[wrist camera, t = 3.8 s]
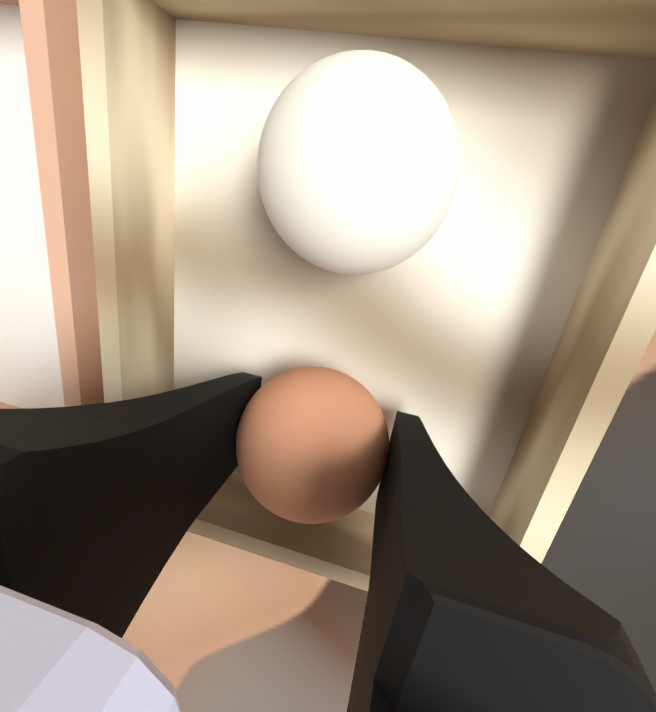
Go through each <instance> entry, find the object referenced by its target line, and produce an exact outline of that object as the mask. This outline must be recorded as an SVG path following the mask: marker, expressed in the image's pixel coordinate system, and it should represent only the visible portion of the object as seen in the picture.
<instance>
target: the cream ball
mask: <svg viewBox="0 0 656 712" xmlns="http://www.w3.org/2000/svg"><path fill="white" fill-rule="evenodd" d="M257 173H258V184H259V189H260V194H261V198H262V201H263V204H264V207H265V210H266V212H267V215H268V217H269V219H270V221H271V223H272V224H273V226H274V228H275V229H276V231H277V233H278V234H279V235H280V237H281V238H282V239H283V240H284V242H285V243H286V244H287V245H288V246H289V247H290V248H291V249H292V250H293V251H294V252H295V253H296V254H298V255H299V256H300V257H302V258H303V259H304V260H306V261H308V262H310V263H311V264H313V265H315V266H318V267H320V268H322V269H325V270H327V271H331V272H335V273H339V274H347V275H365V274H371V273H376V272H380V271H383V270H387V269H389V268H391V267H394V266H396V265H398V264H400V263H402V262H404V261H405V260H407V259H409V258H410V257H412V256H413V255H414V254H415V253H417V252H418V251H419V250H421V249H422V248H423V247H424V246H425V245H426V244H427V243H428V242H429V241H430V240H431V238H432V237H433V236H434V234H435V233H436V232H437V231H438V229H439V228H440V226H441V224H442V223H443V221H444V220H445V218H446V216H447V214H448V212H449V209H450V207H451V205H452V202H453V199H454V196H455V193H456V190H457V185H458V179H459V173H460V142H459V137H458V132H457V127H456V124H455V121H454V118H453V115H452V112H451V110H450V108H449V106H448V104H447V102H446V100H445V98H444V97H443V95H442V94H441V92H440V91H439V90H438V88H437V87H436V86H435V85H434V83H433V82H432V81H431V80H430V79H429V78H428V77H427V76H426V75H425V74H424V73H423V72H422V71H420V70H419V69H418V68H416V67H415V66H414V65H413V64H411V63H409V62H407V61H405V60H404V59H402V58H400V57H397V56H394V55H392V54H389V53H386V52H380V51H374V50H351V51H344V52H339V53H336V54H333V55H330V56H327V57H325V58H323V59H321V60H319V61H316V62H314V63H313V64H311V65H310V66H308V67H307V68H305V69H304V70H303V71H301V72H300V73H299V74H298V75H297V76H296V77H295V78H294V79H292V80H291V82H290V83H289V84H288V85H287V86H286V87H285V88H284V90H283V91H282V92H281V94H280V95H279V97H278V98H277V100H276V101H275V103H274V104H273V106H272V108H271V110H270V112H269V114H268V116H267V119H266V122H265V125H264V127H263V130H262V134H261V138H260V142H259V149H258V158H257Z"/></svg>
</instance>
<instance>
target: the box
mask: <svg viewBox="0 0 656 712" xmlns="http://www.w3.org/2000/svg"><path fill="white" fill-rule="evenodd" d="M76 4H77V18H78V32H79V47H80V61H81V75H82V90H83V104H84V118H85V133H86V147H87V161H88V176H89V190H90V204H91V219H92V233H93V248H94V262H95V276H96V291H97V305H98V319H99V334H100V348H101V362H102V377H103V391H104V403H109V402H116V401H122V400H128V399H135V398H140V397H145V396H150V395H155V394H159V393H163V392H167V391H171V390H175V389H179V388H183V387H187V386H191V385H194V384H198V383H201V382H205V381H208V380H212V379H215V378H219V377H223V376H226V375H230V374H235V373H241V372H245V373H249V374H253V375H257V376H261V377H262V382H261V387H262V386H263V385H264V384H266V383H267V382H268V381H270V380H271V379H272V378H274V377H276V376H278V375H280V374H282V373H284V372H287V371H289V370H292V369H296V368H301V367H325V368H330V369H334V370H337V371H340V372H342V373H344V374H347V375H349V376H350V377H352V378H354V379H355V380H357V381H358V382H359V383H361V384H362V385H363V386H364V387H365V388H366V389H367V390H368V391H369V392H370V393H371V394H372V396H373V397H374V398H375V400H376V402H377V403H378V405H379V407H380V408H381V410H382V413H383V415H384V417H385V421H386V424H387V428H388V435H389V441H390V437H391V433H392V429H393V425H394V421H395V417H396V413H397V411H400V412H404V413H408V414H412V415H416V416H419V417H420V419H421V421H422V422H423V424H424V427H425V429H426V431H427V433H428V434H429V436H430V438H431V440H432V442H433V444H434V446H435V447H436V449H437V451H438V452H439V454H440V456H441V457H442V459H443V461H444V462H445V464H446V465H447V467H448V468H449V470H450V471H451V472H452V474H453V475H454V477H455V478H456V479H457V481H458V482H459V483H460V485H461V486H462V487H463V488H464V490H465V491H466V492H467V493H468V494H469V495H470V497H471V498H472V499H473V500H474V501H475V502H476V503H477V505H478V506H479V507H480V508H481V509H482V510H483V511H484V512H485V513H486V514H487V515H488V516H489V517H490V519H491V520H492V521H493V522H495V523H496V524H497V525H498V526H499V527H500V528H501V529H502V530H503V531H504V532H505V533H506V534H507V535H508V536H509V537H510V538H511V539H512V540H513V541H515V542H516V543H517V544H518V545H519V546H520V547H521V548H523V549H524V550H525V551H526V552H527V553H528V554H529V555H531V556H532V557H533V558H534V559H536V560H537V561H538V562H539V563H542V561H543V559H544V557H545V554H546V552H547V551H548V548H549V546H550V544H551V542H552V540H553V538H554V536H555V534H556V532H557V530H558V528H559V526H560V524H561V522H562V520H563V518H564V516H565V514H566V512H567V510H568V507H569V505H570V503H571V501H572V499H573V497H574V495H575V493H576V491H577V489H578V487H579V485H580V483H581V481H582V479H583V477H584V475H585V473H586V471H587V469H588V467H589V465H590V462H591V461H592V459H593V456H594V454H595V452H596V450H597V448H598V446H599V444H600V442H601V440H602V438H603V436H604V434H605V432H606V430H607V428H608V426H609V424H610V422H611V420H612V418H613V416H614V413H615V411H616V409H617V407H618V405H619V403H620V401H621V399H622V397H623V395H624V393H625V391H626V389H627V387H628V385H629V383H630V381H631V379H632V377H633V375H634V373H635V371H636V369H637V367H638V364H639V362H640V360H641V358H642V356H643V354H644V352H645V350H646V348H647V346H648V344H649V342H650V340H651V338H652V336H653V334H654V332H655V330H656V0H76ZM351 50H374V51H380V52H386V53H389V54H392V55H394V56H397V57H400V58H402V59H404V60H405V61H407V62H409V63H411V64H413V65H414V66H415V67H416V68H418V69H419V70H420V71H422V72H423V73H424V74H425V75H426V76H427V77H428V78H429V79H430V80H431V81H432V82H433V83H434V85H435V86H436V87H437V88H438V90H439V91H440V92H441V94H442V95H443V97H444V98H445V100H446V102H447V104H448V106H449V108H450V110H451V112H452V115H453V118H454V121H455V124H456V127H457V132H458V137H459V142H460V173H459V179H458V185H457V190H456V193H455V196H454V199H453V202H452V205H451V207H450V209H449V212H448V214H447V216H446V218H445V220H444V221H443V223H442V224H441V226H440V228H439V229H438V231H437V232H436V233H435V234H434V236H433V237H432V238H431V240H430V241H429V242H428V243H427V244H426V245H425V246H424V247H423V248H422V249H421V250H419V251H418V252H417V253H415V254H414V255H413V256H412V257H410V258H409V259H407V260H405V261H404V262H402V263H400V264H398V265H396V266H394V267H391V268H389V269H387V270H383V271H380V272H376V273H371V274H365V275H347V274H339V273H335V272H331V271H327V270H325V269H322V268H320V267H318V266H315V265H313V264H311V263H310V262H308V261H306V260H304V259H303V258H302V257H300V256H299V255H298V254H296V253H295V252H294V251H293V250H292V249H291V248H290V247H289V246H288V245H287V244H286V243H285V242H284V240H283V239H282V238H281V237H280V235H279V234H278V233H277V231H276V229H275V228H274V226H273V224H272V223H271V221H270V219H269V217H268V215H267V212H266V210H265V207H264V204H263V201H262V198H261V194H260V189H259V184H258V173H257V158H258V149H259V142H260V138H261V134H262V130H263V127H264V125H265V122H266V119H267V116H268V114H269V112H270V110H271V108H272V106H273V104H274V103H275V101H276V100H277V98H278V97H279V95H280V94H281V92H282V91H283V90H284V88H285V87H286V86H287V85H288V84H289V83H290V82H291V80H292V79H294V78H295V77H296V76H297V75H298V74H299V73H300V72H301V71H303V70H304V69H305V68H307V67H308V66H310V65H311V64H313V63H314V62H316V61H319V60H321V59H323V58H325V57H327V56H330V55H333V54H336V53H339V52H344V51H351ZM379 483H380V482H379ZM378 488H379V484H378V486H377V488H376V490H375V491H374V492H373V494H372V495H371V496H370V497H369V498H368V499H367V501H365V502H364V503H363V504H362V505H361V506H360V507H359V508H357V509H356V510H354V511H353V512H351V513H350V514H348V515H346V516H344V517H342V518H339V519H337V520H334V521H331V522H326V523H318V524H304V523H297V522H293V521H289V520H287V519H284V518H281V517H279V516H277V515H275V514H274V513H272V512H271V511H269V510H268V509H266V508H265V507H264V506H263V505H261V504H260V503H259V502H258V501H257V500H256V498H255V497H254V496H253V495H252V493H251V492H250V491H249V489H248V488H247V486H246V484H245V482H244V480H243V478H242V476H241V473H240V470H239V466H237V468H236V469H235V470H234V471H233V473H232V474H231V475H230V477H229V478H228V479H227V480H226V482H225V483H224V484H223V485H222V487H221V488H220V489H219V490H218V492H217V493H216V494H215V495H214V497H213V498H212V499H211V500H210V502H209V503H208V504H207V505H206V507H205V508H204V509H203V510H202V512H201V513H200V514H199V515H198V517H197V518H196V519H195V521H194V522H193V523H192V525H191V526H190V527H189V529H188V530H187V531H189V532H192V533H195V534H198V535H201V536H204V537H207V538H210V539H213V540H216V541H219V542H222V543H225V544H228V545H231V546H234V547H237V548H240V549H243V550H246V551H249V552H252V553H255V554H258V555H261V556H264V557H267V558H270V559H273V560H276V561H279V562H282V563H285V564H288V565H291V566H293V567H296V568H299V569H302V570H305V571H308V572H311V573H314V574H317V575H320V576H323V577H326V578H329V579H332V580H335V581H338V582H341V583H344V584H347V585H350V586H353V587H356V588H359V589H362V590H365V591H368V589H369V580H370V570H371V557H372V545H373V532H374V519H375V507H376V499H377V493H378Z"/></svg>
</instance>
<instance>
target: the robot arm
mask: <svg viewBox="0 0 656 712" xmlns="http://www.w3.org/2000/svg"><path fill="white" fill-rule="evenodd" d="M261 382H262V377H261V376H257V375H253V374H249V373H245V372H241V373H235V374H230V375H226V376H223V377H219V378H215V379H212V380H208V381H205V382H201V383H198V384H194V385H191V386H187V387H183V388H179V389H175V390H171V391H167V392H163V393H159V394H155V395H150V396H145V397H140V398H135V399H128V400H122V401H116V402H109V403H100V404H89V405H79V406H68V407H53V408H22V409H0V712H181V708H180V705H179V702H178V700H177V696H176V693H175V690H174V687H173V685H172V684H171V683H170V682H169V680H168V679H167V678H166V677H165V676H164V675H163V674H162V673H161V672H160V671H159V669H158V668H157V667H156V666H155V665H154V664H153V663H152V662H151V661H150V660H149V658H148V657H147V656H146V655H145V654H144V653H143V652H142V651H141V650H140V649H139V648H137V647H135V646H134V645H132V644H130V643H128V642H127V641H125V640H123V639H122V637H123V635H124V633H125V632H126V630H127V628H128V626H129V625H130V623H131V621H132V619H133V618H134V616H135V614H136V612H137V611H138V609H139V607H140V605H141V604H142V602H143V600H144V599H145V597H146V595H147V594H148V592H149V590H150V589H151V587H152V586H153V584H154V582H155V581H156V579H157V577H158V576H159V574H160V572H161V571H162V569H163V567H164V566H165V564H166V563H167V561H168V560H169V558H170V556H171V555H172V553H173V552H174V550H175V549H176V547H177V545H178V544H179V542H180V541H181V539H182V538H183V536H184V535H185V533H186V532H187V530H188V529H189V527H190V526H191V525H192V523H193V522H194V521H195V519H196V518H197V517H198V515H199V514H200V513H201V512H202V510H203V509H204V508H205V507H206V505H207V504H208V503H209V502H210V500H211V499H212V498H213V497H214V495H215V494H216V493H217V492H218V490H219V489H220V488H221V487H222V485H223V484H224V483H225V482H226V480H227V479H228V478H229V477H230V475H231V474H232V473H233V471H234V470H235V469H236V468H237V466H238V462H237V457H236V435H237V429H238V425H239V422H240V418H241V416H242V414H243V412H244V410H245V408H246V406H247V404H248V402H249V401H250V400H251V398H252V397H253V395H254V394H255V393H256V392H257V391H258V390H259V389H260V388H261ZM347 712H656V693H655V691H654V689H653V687H652V685H651V682H650V680H649V678H648V676H647V674H646V672H645V669H644V667H643V665H642V663H641V661H640V659H639V657H638V655H637V653H636V651H635V649H634V647H633V645H632V643H631V641H630V639H629V637H628V636H627V634H626V632H625V630H624V628H623V627H622V625H621V623H620V622H619V621H618V620H617V619H615V618H614V617H613V616H611V615H610V614H608V613H607V612H605V611H604V610H603V609H601V608H600V607H599V606H597V605H596V604H594V603H593V602H591V601H590V600H589V599H587V598H586V597H584V596H583V595H581V594H580V593H579V592H577V591H576V590H575V589H573V588H572V587H570V586H569V585H567V584H566V583H565V582H563V581H562V580H561V579H559V578H558V577H557V576H555V575H554V574H553V573H552V572H550V571H549V570H548V569H547V568H545V567H544V566H543V565H542V564H541V563H539V562H538V561H537V560H536V559H534V558H533V557H532V556H531V555H529V554H528V553H527V552H526V551H525V550H524V549H523V548H521V547H520V546H519V545H518V544H517V543H516V542H515V541H513V540H512V539H511V538H510V537H509V536H508V535H507V534H506V533H505V532H504V531H503V530H502V529H501V528H500V527H499V526H498V525H497V524H496V523H495V522H493V521H492V520H491V519H490V517H489V516H488V515H487V514H486V513H485V512H484V511H483V510H482V509H481V508H480V507H479V506H478V505H477V503H476V502H475V501H474V500H473V499H472V498H471V497H470V495H469V494H468V493H467V492H466V491H465V490H464V488H463V487H462V486H461V485H460V483H459V482H458V481H457V479H456V478H455V477H454V475H453V474H452V472H451V471H450V470H449V468H448V467H447V465H446V464H445V462H444V461H443V459H442V457H441V456H440V454H439V452H438V451H437V449H436V447H435V446H434V444H433V442H432V440H431V438H430V436H429V434H428V433H427V431H426V429H425V427H424V424H423V422H422V421H421V419H420V417H419V416H416V415H412V414H408V413H404V412H400V411H397V413H396V417H395V421H394V425H393V429H392V433H391V437H390V441H389V452H388V459H387V464H386V468H385V471H384V474H383V477H382V479H381V481H380V483H379V488H378V493H377V499H376V507H375V519H374V532H373V545H372V557H371V570H370V580H369V589H368V596H367V602H366V607H365V613H364V619H363V625H362V630H361V636H360V642H359V647H358V653H357V658H356V664H355V670H354V675H353V681H352V686H351V692H350V698H349V703H348V708H347Z"/></svg>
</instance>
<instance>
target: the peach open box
mask: <svg viewBox="0 0 656 712" xmlns="http://www.w3.org/2000/svg"><path fill="white" fill-rule="evenodd" d="M100 403H104V391H103V377H102V362H101V348H100V334H99V319H98V305H97V291H96V276H95V262H94V248H93V233H92V219H91V204H90V190H89V176H88V161H87V147H86V133H85V118H84V104H83V90H82V75H81V61H80V47H79V32H78V18H77V4H76V0H0V409H22V408H53V407H68V406H79V405H89V404H100Z"/></svg>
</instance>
